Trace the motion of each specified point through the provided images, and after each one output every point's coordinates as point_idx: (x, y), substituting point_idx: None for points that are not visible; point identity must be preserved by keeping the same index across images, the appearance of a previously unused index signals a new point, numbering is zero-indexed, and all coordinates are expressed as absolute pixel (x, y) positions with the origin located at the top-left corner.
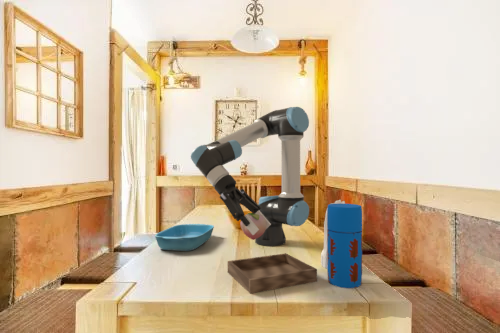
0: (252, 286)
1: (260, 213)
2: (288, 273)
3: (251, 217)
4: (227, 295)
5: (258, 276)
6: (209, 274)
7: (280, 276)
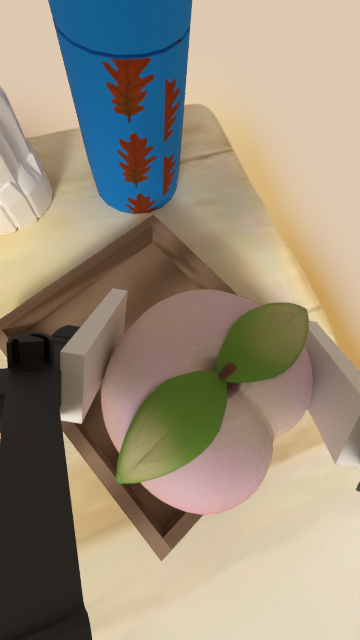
0: None
1: (96, 339)
2: (220, 282)
3: (296, 371)
4: None
5: None
6: (208, 620)
7: None
